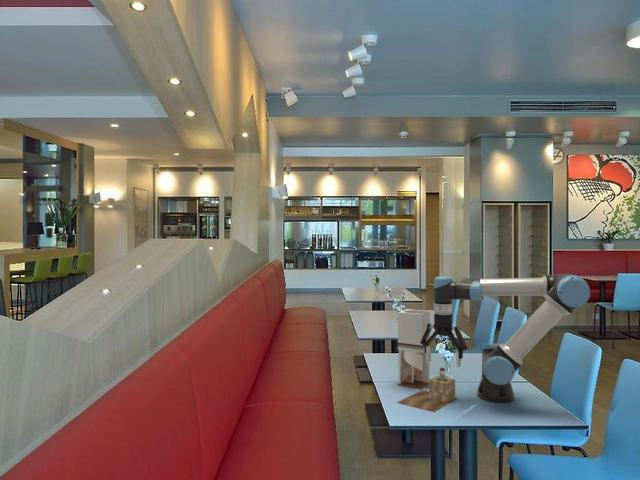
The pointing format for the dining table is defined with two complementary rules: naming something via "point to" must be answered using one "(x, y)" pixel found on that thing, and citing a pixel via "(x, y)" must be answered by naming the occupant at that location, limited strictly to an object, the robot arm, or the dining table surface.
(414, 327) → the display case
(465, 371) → the dining table surface
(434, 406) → the board
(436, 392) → the tan wooden cube
